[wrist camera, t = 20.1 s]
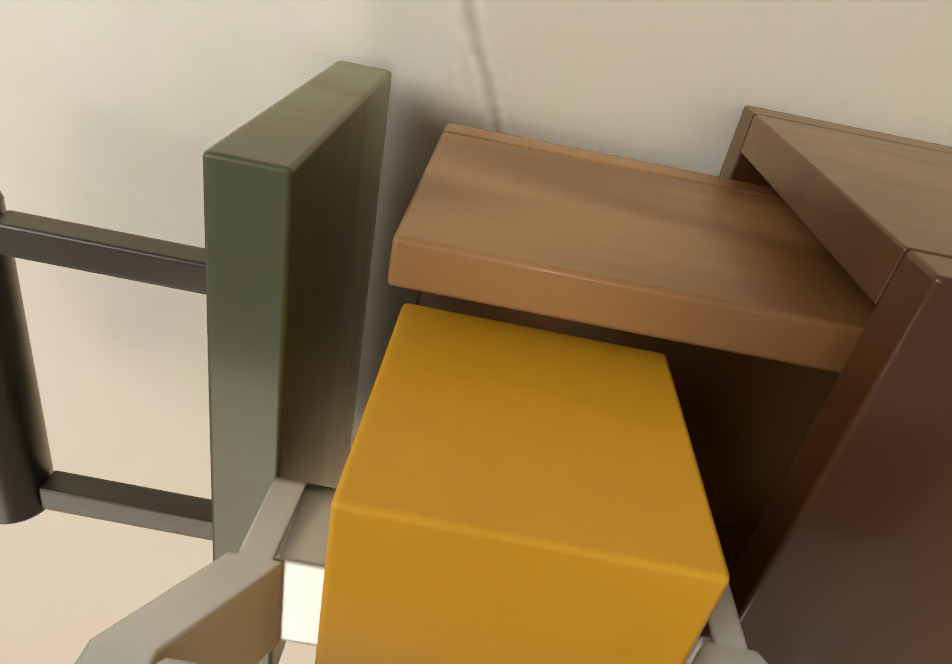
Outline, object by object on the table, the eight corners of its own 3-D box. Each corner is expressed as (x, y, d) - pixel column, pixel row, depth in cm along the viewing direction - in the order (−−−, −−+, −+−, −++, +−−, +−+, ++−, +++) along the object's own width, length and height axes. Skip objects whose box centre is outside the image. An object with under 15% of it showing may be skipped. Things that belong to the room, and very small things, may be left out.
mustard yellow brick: (569, 605, 15) (579, 856, 11) (364, 566, 15) (300, 805, 11) (667, 352, 11) (734, 580, 7) (403, 299, 11) (329, 504, 7)
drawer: (119, 422, 21) (-55, 628, 15) (72, 5, 15) (-249, 61, 9) (765, 545, 21) (854, 795, 15) (967, 186, 15) (1247, 359, 9)
